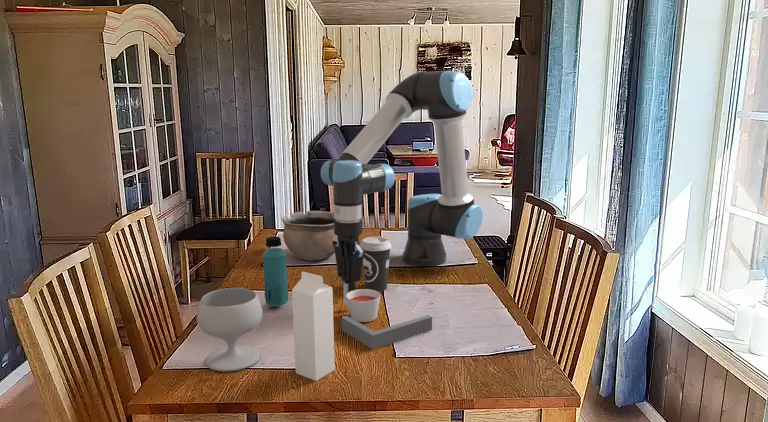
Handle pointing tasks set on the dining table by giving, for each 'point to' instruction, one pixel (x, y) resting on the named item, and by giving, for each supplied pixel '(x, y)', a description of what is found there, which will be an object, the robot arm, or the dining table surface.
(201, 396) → the dining table surface
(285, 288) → the beverage bottle
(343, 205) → the robot arm
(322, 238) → the ceramic bowl
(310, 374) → the milk
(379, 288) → the coffee cup
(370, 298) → the candle
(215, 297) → the chalice
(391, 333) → the corner fence
